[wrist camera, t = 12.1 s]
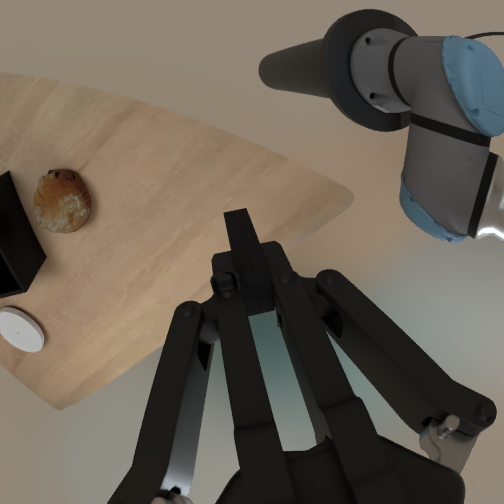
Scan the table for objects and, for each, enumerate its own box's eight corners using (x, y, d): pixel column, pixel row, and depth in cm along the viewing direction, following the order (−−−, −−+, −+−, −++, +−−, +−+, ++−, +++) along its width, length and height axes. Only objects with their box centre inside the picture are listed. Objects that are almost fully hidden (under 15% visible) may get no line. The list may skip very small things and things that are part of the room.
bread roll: (53, 209, 42) (43, 247, 38) (30, 168, 33) (13, 208, 29) (101, 202, 43) (93, 242, 39) (82, 157, 35) (68, 198, 31)
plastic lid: (14, 296, 45) (10, 303, 43) (55, 336, 53) (53, 344, 51) (-9, 314, 46) (-13, 321, 44) (28, 349, 54) (25, 356, 52)
